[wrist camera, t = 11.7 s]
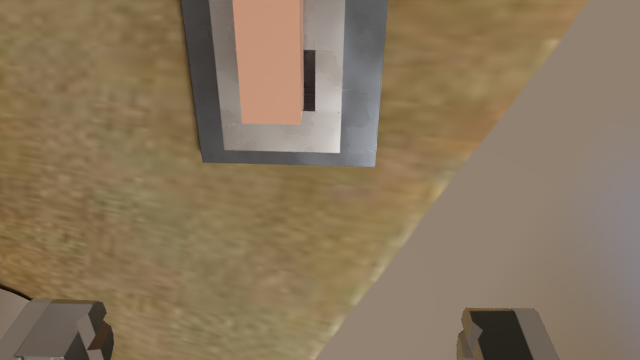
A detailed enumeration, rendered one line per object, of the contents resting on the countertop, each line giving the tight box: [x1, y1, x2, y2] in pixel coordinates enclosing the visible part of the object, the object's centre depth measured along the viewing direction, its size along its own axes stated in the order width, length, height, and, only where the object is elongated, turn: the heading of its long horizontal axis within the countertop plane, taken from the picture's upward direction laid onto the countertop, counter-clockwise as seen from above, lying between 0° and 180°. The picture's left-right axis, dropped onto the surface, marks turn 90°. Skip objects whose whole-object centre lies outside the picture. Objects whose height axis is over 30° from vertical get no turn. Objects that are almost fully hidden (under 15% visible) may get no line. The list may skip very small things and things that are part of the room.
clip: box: [232, 0, 304, 125], centre depth 26 cm, size 9×3×7 cm, turn 179°
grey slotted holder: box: [181, 0, 388, 167], centre depth 28 cm, size 22×12×4 cm, turn 179°
